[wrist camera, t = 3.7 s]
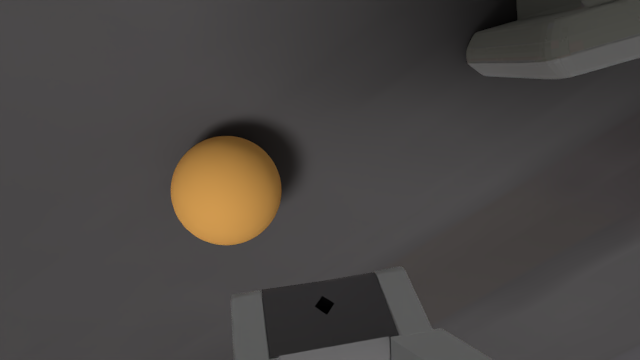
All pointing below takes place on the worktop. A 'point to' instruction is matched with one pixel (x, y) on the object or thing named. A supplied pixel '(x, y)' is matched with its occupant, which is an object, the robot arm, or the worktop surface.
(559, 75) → the digital clock
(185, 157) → the ball
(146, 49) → the worktop surface
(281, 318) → the robot arm
